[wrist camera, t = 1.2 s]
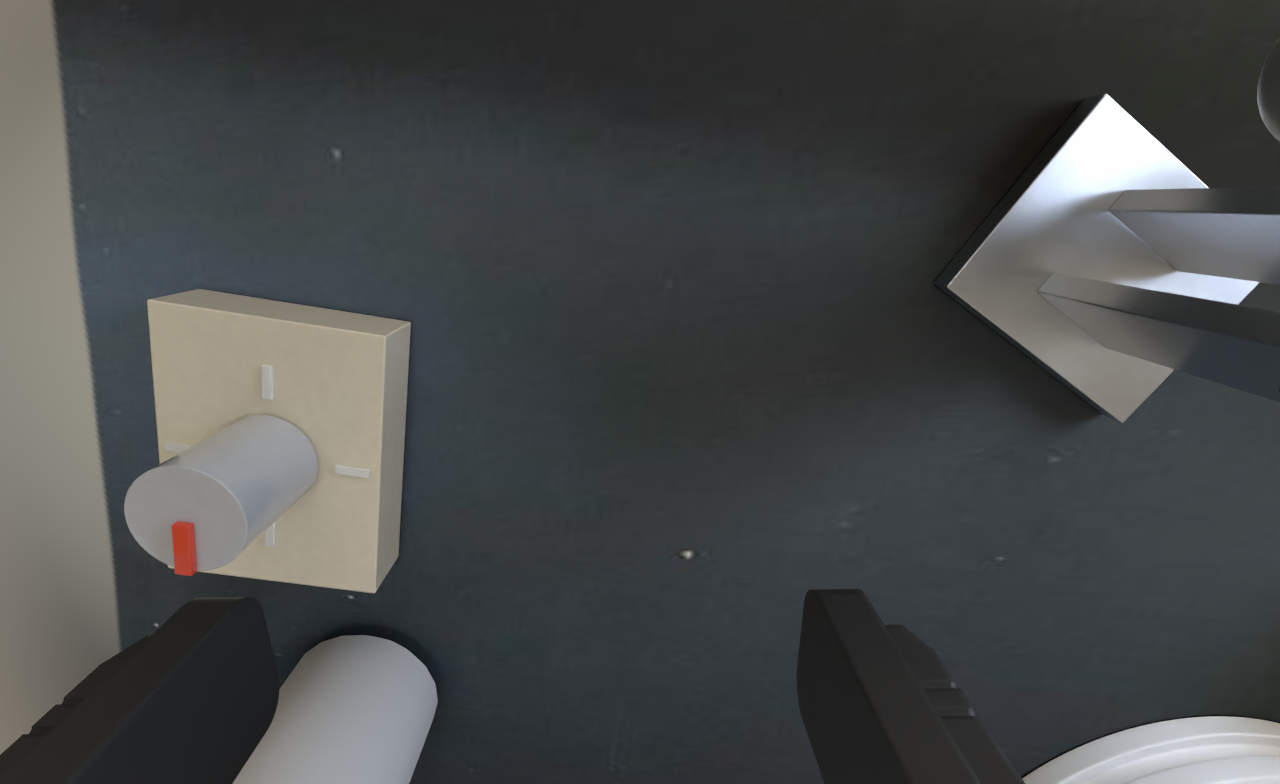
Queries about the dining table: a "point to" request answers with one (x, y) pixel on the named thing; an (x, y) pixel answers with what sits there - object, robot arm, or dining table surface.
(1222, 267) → the tap bracket
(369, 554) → the panel
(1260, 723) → the plate stack
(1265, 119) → the tap lever
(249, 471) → the dial
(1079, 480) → the dining table surface
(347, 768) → the can
